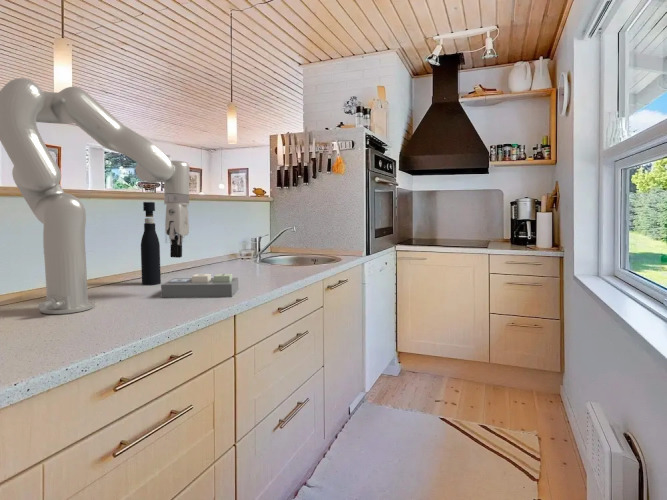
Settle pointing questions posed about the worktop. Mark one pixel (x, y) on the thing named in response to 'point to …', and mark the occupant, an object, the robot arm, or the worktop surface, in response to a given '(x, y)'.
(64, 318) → the worktop surface
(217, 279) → the key sage
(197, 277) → the key cream
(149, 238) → the wine bottle
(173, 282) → the key blue
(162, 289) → the key panel
